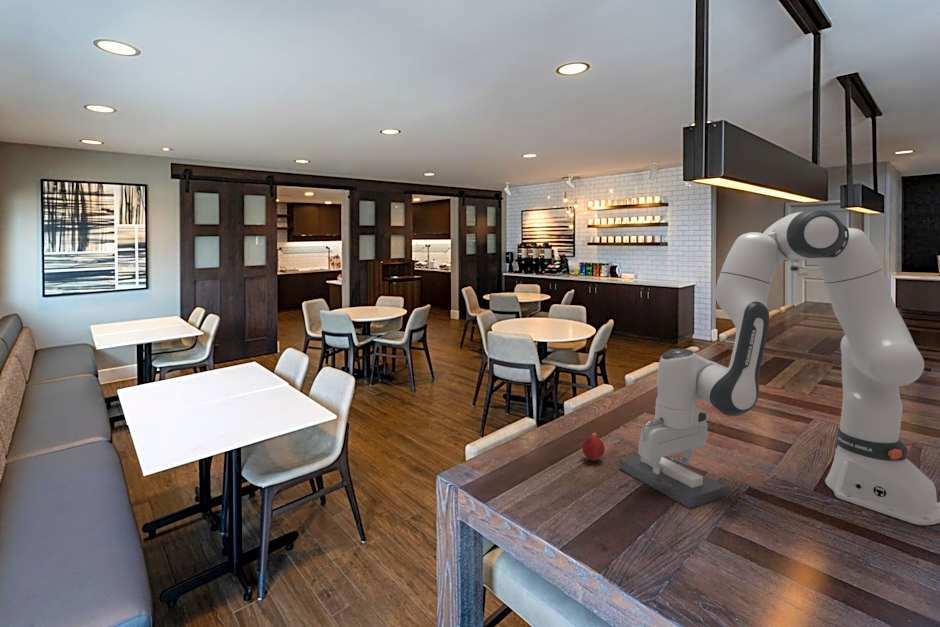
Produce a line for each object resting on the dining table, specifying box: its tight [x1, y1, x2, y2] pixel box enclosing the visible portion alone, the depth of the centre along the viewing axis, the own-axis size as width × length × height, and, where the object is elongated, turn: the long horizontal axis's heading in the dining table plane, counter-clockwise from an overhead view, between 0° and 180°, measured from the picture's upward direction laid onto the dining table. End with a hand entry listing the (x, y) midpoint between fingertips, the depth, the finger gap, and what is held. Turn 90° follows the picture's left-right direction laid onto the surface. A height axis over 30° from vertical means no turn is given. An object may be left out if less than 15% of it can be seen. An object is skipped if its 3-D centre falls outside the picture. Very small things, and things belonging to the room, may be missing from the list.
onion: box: [581, 432, 606, 462], centre depth 137 cm, size 6×6×8 cm
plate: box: [619, 454, 727, 509], centre depth 125 cm, size 22×12×2 cm, turn 27°
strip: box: [641, 457, 703, 488], centre depth 125 cm, size 16×4×4 cm, turn 27°
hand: (671, 468), depth 125 cm, fingers open, 8 cm apart
